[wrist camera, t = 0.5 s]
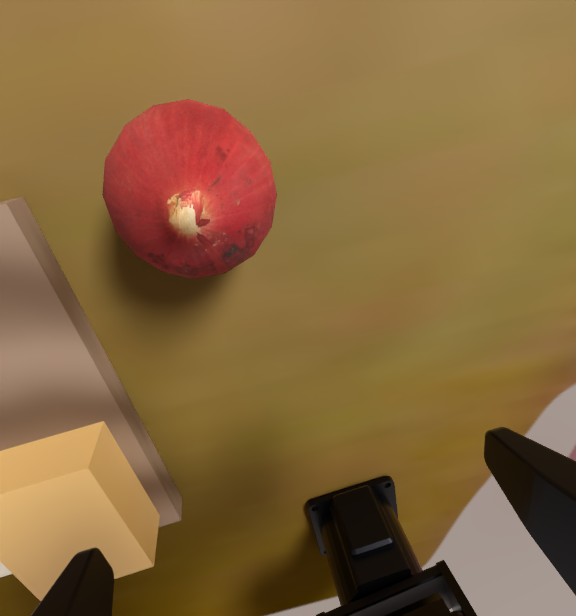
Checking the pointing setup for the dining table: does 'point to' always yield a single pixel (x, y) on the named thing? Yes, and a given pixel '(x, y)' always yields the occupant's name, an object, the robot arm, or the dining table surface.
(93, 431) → the light orange rectangular block
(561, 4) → the dining table surface
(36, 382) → the board
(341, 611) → the robot arm
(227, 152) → the onion
